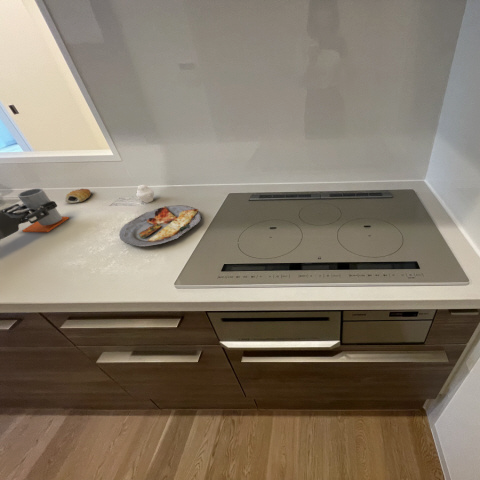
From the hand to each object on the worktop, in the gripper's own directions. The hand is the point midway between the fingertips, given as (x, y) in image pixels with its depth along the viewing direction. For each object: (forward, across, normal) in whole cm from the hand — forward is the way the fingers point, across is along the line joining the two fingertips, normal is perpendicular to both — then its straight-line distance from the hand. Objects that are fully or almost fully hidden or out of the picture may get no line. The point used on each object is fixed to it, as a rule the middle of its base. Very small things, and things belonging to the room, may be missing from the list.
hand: (47, 202), depth 91 cm
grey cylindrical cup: (-2, 0, +6) cm, 6 cm away
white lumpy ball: (+20, -21, +8) cm, 30 cm away
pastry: (+15, +9, +8) cm, 19 cm away
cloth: (-3, +2, +8) cm, 9 cm away
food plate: (+4, -41, +8) cm, 42 cm away
